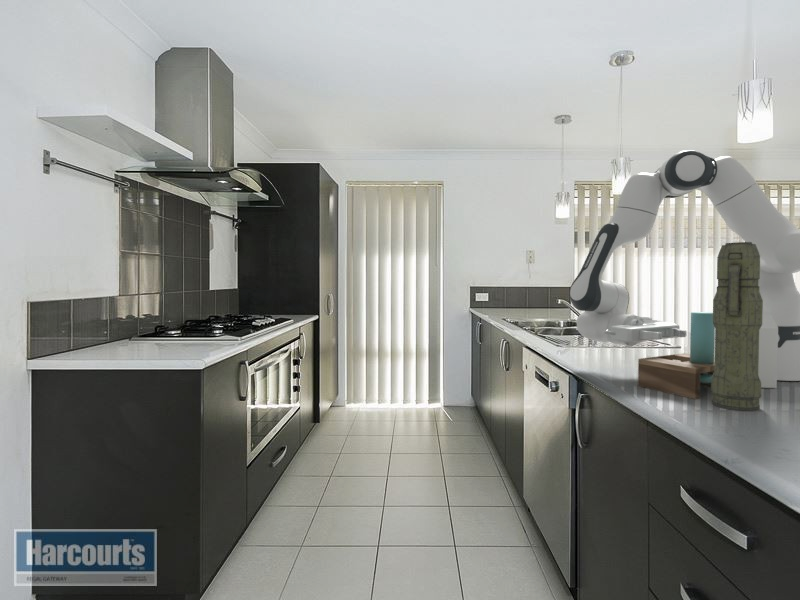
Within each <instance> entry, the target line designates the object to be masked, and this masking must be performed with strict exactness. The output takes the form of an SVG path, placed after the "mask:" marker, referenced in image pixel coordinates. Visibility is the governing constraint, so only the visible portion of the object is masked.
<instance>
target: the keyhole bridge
mask: <svg viewBox="0 0 800 600" xmlns="http://www.w3.org/2000/svg"><path fill="white" fill-rule="evenodd" d="M637 361H638V364H637V365H638V371H637V372H638V373H637V375H638V376H637V383H638V384H637V386H638V387H640V388H644V387H645V388H644V389H649V390H653V389H654V391H658V392H663V393H666V392H667V394H671V395H675V394H676V396H681V397H684V398H689V399H693V400H696V399H701V396H700V395H701V394H700V393H701V384H703V385H705V386H706V385H707V386H711V383H700V373H704V372H708V373H711V374H713V373H714V369H715V356H714V363H713V364H699V363H693V362H690V353H685V352H684V353H683V352H681V353H675V354H666V355H659V356H651V357H641V358H638V360H637Z"/></svg>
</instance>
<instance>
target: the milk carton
mask: <svg viewBox="0 0 800 600" xmlns="http://www.w3.org/2000/svg"><path fill="white" fill-rule="evenodd" d="M777 354H778V327H777V325H776V323H775V321H774V319H773V317H772V316H771V311H763V312H762V326H761V328H760V330H759V364H758V376H759V378H760V381H761V389H762V388H764V389H766V388H767V389H777V385H778V383H777V382H778V380H777Z"/></svg>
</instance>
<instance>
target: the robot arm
mask: <svg viewBox="0 0 800 600" xmlns="http://www.w3.org/2000/svg"><path fill="white" fill-rule="evenodd" d="M695 190H697V191H700V192H702V193H703V194H705V196H707V197H708V198H709V200H710V202H711V203H712V205H713V207H714V208H715V209H716V211H717V212H718V214H719V215H720V217H721V218H722V219H723V221H724V223H726V225H727V227H728V228H729V229H730V231H732V232H734V233H735V234H737V236H739V237H740V238H741V239H743V242H752V244H756V246H757V249H758V251H759V254H760V279H758V286H759V292H760V295H761V297H762V300H763V311H771V316H772V317H773V319H774V321H775V323H776V325H777V327H778V354H777V381H784V382H785V381H786V382H789V381H790V382H796V381H797V382H798V381H799V382H800V292H799V291H798V288H797V286H796V283H795V279H794V275H793V274H795V273H798V272H800V229H799V228H798V227H797V226H796V225H795V224H793V222H791V221H790V220H789V219H788V218H787V217H786V216H785V215H784V214H782V212H780V211H779V209H777V207H775V205H774V204H773V203H772V202H771V200H770V199H769V198H768V196H767V194H766V193H765V192H764V190H763V189H762V188H761V186H760V185H759V184H758V182H757V180H755V178H754V177H753V175H752V174H751V173H750V172H749V170H748V169H746V167H744V166H743V165H742V163H741V162H739V161H738V159H735V158H734V156H729V155H725V156H719V157H717V158H713V157H711V156H709V155H705V154H704V153H701V152H700V151H697V150H692V149H689V150H687V149H686V150H681V151H679V152H677V153H675V154H673V155H672V156H671V157H669V158H668V159H666V160H665V161H664V162H663V163H662V165H661V166H660V167H659V168H658V169H657V170H656V171H655V172H654V173H649V172H640V173H639V172H638V173H635V174H633V175H631V176H630V177H629V178H628V180H627V182H626V183H625V185H624V187H623V189H622V192H621V194H620V196H619V198H618V201H617V204H616V207H615V209H614V212H613V215H612V216H611V218H610V220H609V221H608V223H605V224H604V225H603V226H602V227H601V228H600V230H599V231H598V232H597V234H596V237H595V239H594V241H593V243H592V245H591V247H590V249H589V251H588V254H587V255H586V257H585V260H584V263H583V264H582V267H581V268H580V271H579V273H578V274H577V276H576V277H575V279H574V280H573V281H572V284H571V285H570V288H569V291H568V292H569V293H568V294H569V295H568V296H569V300H570V303H571V304H572V306H573V307H574V308H575V309H576V310H578V311H580V312H582V313H581V314H579V315H578V317H577V320H576V328H577V331H578V333H579V334H580V335H581V336H582V337H583V338H586V339H588V340H591V341H594V342H598V343H599V342H600V343H611V344H615V345H620V346H627V347H633V346H636V345H638V344H640V343H644V342H646V341H654V340H655V341H657V340H665V339H666V340H667V339H674V338H675V339H677V338H686V337H687V330H685V329H680V325H679V324H677V323H674V322H669V321H668V322H667V321H663V320H658V319H657V320H656V319H655V320H654V319H653V318H652V317H645V316H639V315H636V314H629V313H628V314H627V311H628V308H629V304H630V294H629V291H628V289H627V288H626V286H624V285H622V284H620V283H616V282H614V281H613V282H612V281H608V280H604V279H602V276H603V274H604V272H605V270H606V268H607V265H608V263H609V261H610V259H611V256H612V255H613V254H614V252H615V250H617V249H619V247H621V246H624V245H629V244H633V243H637V242H640V241H642V240H643V239H645V238H646V237H648V236H649V235H650V233H651V231H652V229H653V228H654V225H655V221H656V218H657V216H658V212H659V209H660V206H661V203H662V202H663V200H664V199H666V198H667V199H671V198H673V199H674V198H679V197H682V196H685V195H687V194H690V193H692V192H694V191H695Z"/></svg>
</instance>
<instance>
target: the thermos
mask: <svg viewBox="0 0 800 600" xmlns="http://www.w3.org/2000/svg"><path fill="white" fill-rule="evenodd" d="M720 246H721V247H720V250H719V251H718V254H717V257H716V258H717V259H716V263H717V264H716V280H717V285H716V293H715V295H714V296H713V299H712V313H713V324H714V327H715V344H714V357H715V369H714V373H713V376H712V378H711V385H710V390H711V391H710V393H711V395H712V396H711V404H712V405H713V406H716V407H718V408H722V409H726V410H733V411H740V412H742V411H743V412H745V411H746V412H747V411H748V412H755V411H759V410H760V409H761V406H760V399H761V397H762V388H761V381H760V378H759V376H758V364H759V330H760V328H761V326H762V312H763V300H762V297H761V295H760V292H759V286H758V279H760V254H759V251H758V249H757V246H756V244H752V242H745V241H742V242H741V241H740V242H726V243H725V244H723V245H720Z"/></svg>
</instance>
